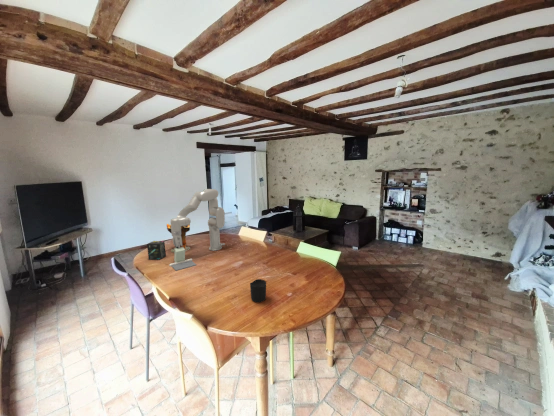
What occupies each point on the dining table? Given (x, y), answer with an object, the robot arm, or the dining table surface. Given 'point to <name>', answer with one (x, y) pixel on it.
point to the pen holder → (258, 290)
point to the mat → (183, 265)
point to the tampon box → (156, 250)
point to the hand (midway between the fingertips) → (178, 253)
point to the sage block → (179, 254)
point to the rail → (180, 262)
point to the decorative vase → (183, 235)
